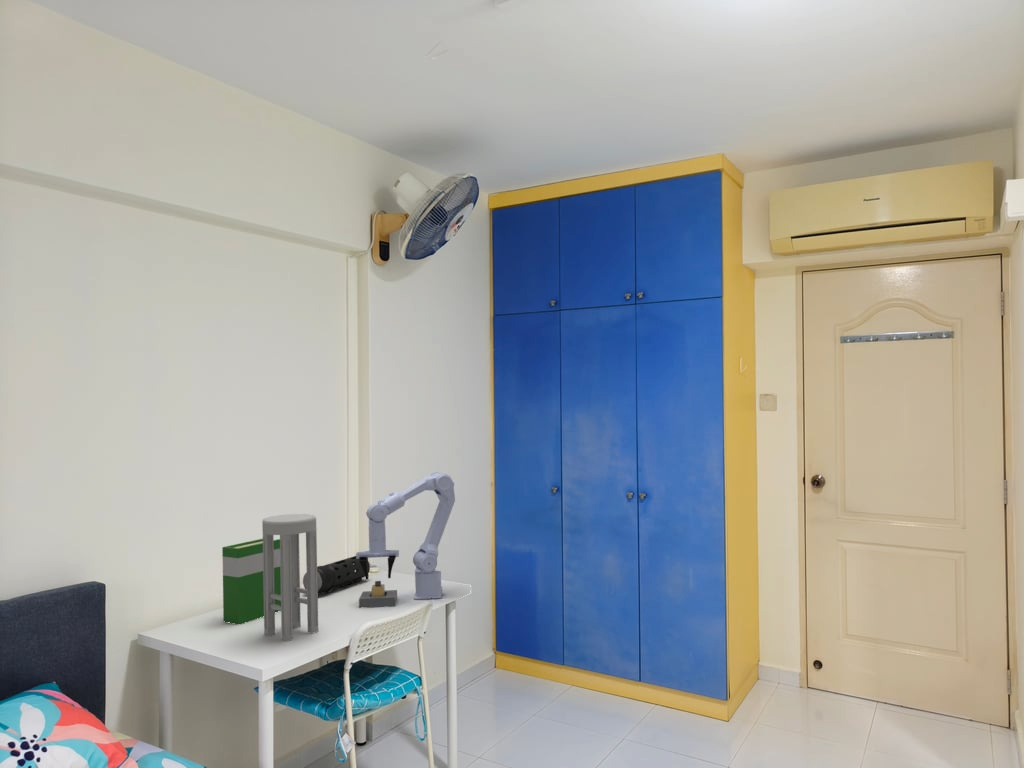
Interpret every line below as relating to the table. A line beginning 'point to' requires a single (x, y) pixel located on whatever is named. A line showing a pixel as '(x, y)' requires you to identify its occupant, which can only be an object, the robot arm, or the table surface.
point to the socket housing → (378, 599)
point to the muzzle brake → (338, 574)
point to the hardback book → (247, 581)
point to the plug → (378, 589)
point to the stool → (290, 573)
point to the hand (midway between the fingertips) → (378, 578)
